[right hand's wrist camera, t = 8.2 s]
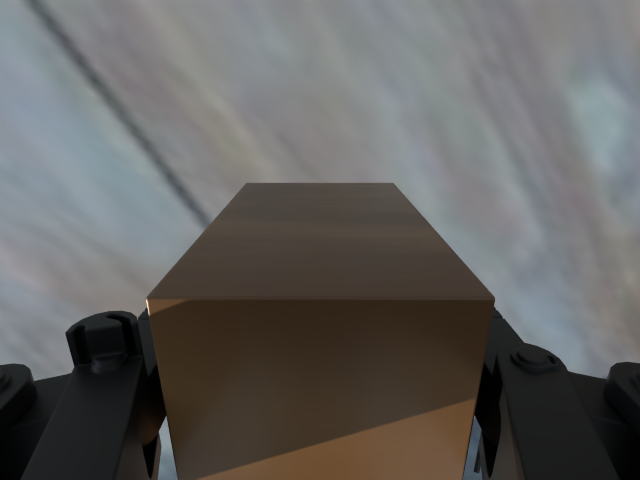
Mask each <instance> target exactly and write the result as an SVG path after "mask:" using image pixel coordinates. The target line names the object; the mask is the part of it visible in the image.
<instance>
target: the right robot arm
mask: <svg viewBox="0 0 640 480" xmlns="http://www.w3.org/2000/svg"><path fill="white" fill-rule="evenodd" d="M65 334H66V337H67V341H68V345H69V348H70V352H71V356H72V359H73V363H74V369H73V371H72V373H70V374H66V375H62V376H57V377H52V378H47V379H42V380H37V381H34V380H33V377H32V373H31V370H30V369H29V368H28V367H27V366H25V365H22V364H6V365H0V480H158V471H159V463H160V455H161V441H160V436H159V430H160V428H161V425H162V423H163V421H164V419H165V417H166V410H165V404H164V399H163V393H162V387H161V382H160V376H159V371H158V365H157V359H156V354H155V348H154V342H153V337H152V331H151V326H150V320H149V314H148V309H147V308H146V309H145V312H143V313H142V314H141V315H140V316H139V317H138V320H137V317H136V316H135V315H133V314H132V313H130V312H125V311H108V312H104V313H99V314H95V315H92V316H90V317H87V318H84V319H82V320H80V321H79V322H77V323H75V324H74V325H72V326H71V327H70V328H69V329H68V330H67V331H66V332H65ZM474 415H475V417H476V419H477V421H478V423H479V425H480V427H481V429H482V430H481V436H480V441H479V446H478V451H477V456H476V461H475V468H474V472H476V473H479V471H480V466H481V470H482V479H483V480H640V363H632V362H622V363H616V364H615V365H613V366H612V367H611V368H610V371H609V374H608V377H607V379H602V378H597V377H592V376H587V375H582V374H577V373H573V372H569V371H568V370H567V368H566V366H565V365H564V364H563V362H562V361H561V360H560V359H559V358H558V357H557V356H555V355H554V354H552V353H551V352H549V351H547V350H545V349H543V348H541V347H538V346H535V345H531V344H527V343H524V342H523V341H522V339H521V338H520V337H519V336H518V335H517V333H516V332H515V331H514V330H513V329H512V327H511V326H510V325H509V324H508V323H507V321H506V320H505V319H503V318H502V315H501V314H500V313H499V312H498V311H497V310H496V308H495V307H494V308H493V314H492V319H491V325H490V331H489V336H488V342H487V347H486V353H485V358H484V364H483V370H482V375H481V381H480V386H479V392H478V397H477V403H476V408H475V414H474Z"/></svg>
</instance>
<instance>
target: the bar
mask: <svg viewBox="0 0 640 480" xmlns="http://www.w3.org/2000/svg"><path fill="white" fill-rule="evenodd" d="M146 303H147V309H148V314H149V320H150V326H151V331H152V337H153V342H154V348H155V354H156V359H157V365H158V371H159V376H160V382H161V387H162V393H163V399H164V404H165V410H166V415H167V421H168V427H169V432H170V438H171V444H172V449H173V455H174V460H175V466H176V472H177V477H178V480H463V475H464V470H465V464H466V459H467V453H468V447H469V442H470V436H471V431H472V425H473V420H474V414H475V408H476V403H477V397H478V392H479V386H480V381H481V375H482V370H483V364H484V358H485V353H486V347H487V342H488V336H489V331H490V325H491V319H492V314H493V308H494V303H495V297H494V296H493V295H492V294H491V293H490V291H489V290H488V289H487V288H486V287H485V286H484V285H483V284H482V282H481V281H480V280H479V279H478V278H477V277H476V276H475V275H474V273H473V272H472V271H471V270H470V269H469V268H468V267H467V266H466V264H465V263H464V262H463V261H462V260H461V259H460V258H459V256H458V255H457V254H456V253H455V252H454V251H453V250H452V249H451V247H450V246H449V245H448V244H447V243H446V242H445V241H444V240H443V238H442V237H441V236H440V235H439V234H438V233H437V232H436V231H435V229H434V228H433V227H432V226H431V225H430V224H429V223H428V222H427V220H426V219H425V218H424V217H423V216H422V215H421V214H420V213H419V211H418V210H417V209H416V208H415V207H414V206H413V205H412V203H411V202H410V201H409V200H408V199H407V198H406V197H405V196H404V194H403V193H402V192H401V191H400V190H399V189H398V188H397V187H396V185H395V184H394V183H246V184H245V185H244V186H243V188H242V189H241V190H240V191H239V192H238V193H237V194H236V196H235V197H234V198H233V199H232V200H231V201H230V202H229V204H228V205H227V206H226V207H225V208H224V209H223V210H222V212H221V213H220V214H219V215H218V216H217V217H216V218H215V220H214V221H213V222H212V223H211V224H210V225H209V226H208V228H207V229H206V230H205V231H204V232H203V233H202V234H201V236H200V237H199V238H198V239H197V240H196V241H195V242H194V244H193V245H192V246H191V247H190V248H189V249H188V250H187V251H186V253H185V254H184V255H183V256H182V257H181V258H180V259H179V261H178V262H177V263H176V264H175V265H174V266H173V267H172V269H171V270H170V271H169V272H168V273H167V274H166V275H165V277H164V278H163V279H162V280H161V281H160V282H159V283H158V285H157V286H156V287H155V288H154V289H153V290H152V291H151V293H150V294H149V295H148V296H147V297H146Z"/></svg>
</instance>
